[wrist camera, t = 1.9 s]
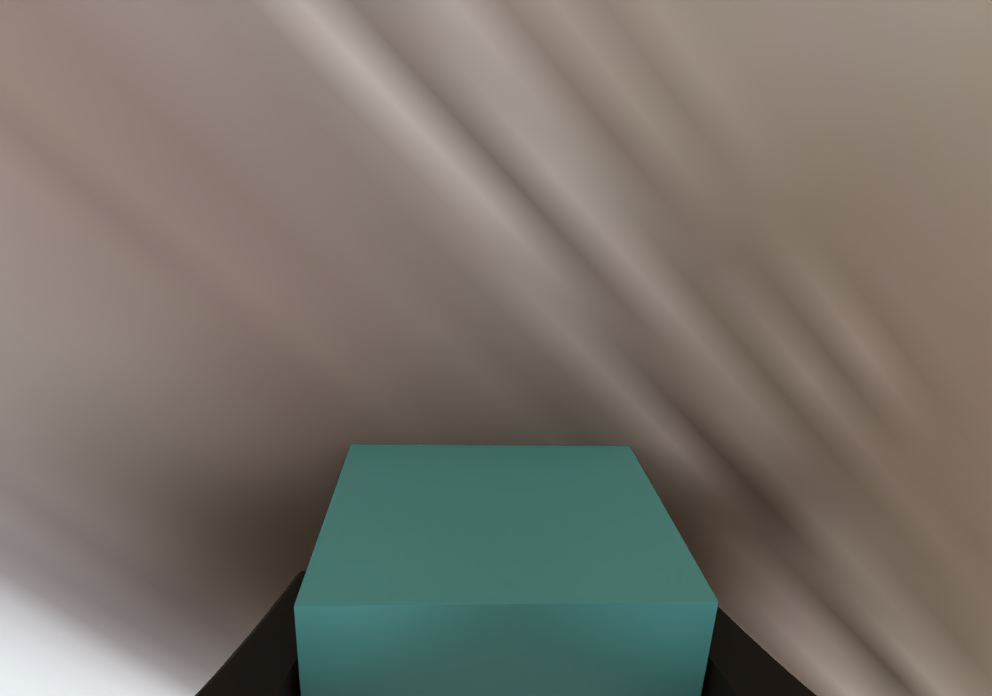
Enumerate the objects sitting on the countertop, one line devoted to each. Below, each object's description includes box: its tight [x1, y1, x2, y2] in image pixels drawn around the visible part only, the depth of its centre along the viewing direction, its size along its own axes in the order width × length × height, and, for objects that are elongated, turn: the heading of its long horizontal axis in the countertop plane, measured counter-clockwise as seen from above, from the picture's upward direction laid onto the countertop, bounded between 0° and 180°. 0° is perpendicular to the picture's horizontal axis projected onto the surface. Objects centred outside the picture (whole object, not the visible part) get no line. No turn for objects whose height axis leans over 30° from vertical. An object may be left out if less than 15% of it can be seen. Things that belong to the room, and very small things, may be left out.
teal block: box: [294, 444, 718, 696], centre depth 10 cm, size 5×5×4 cm
